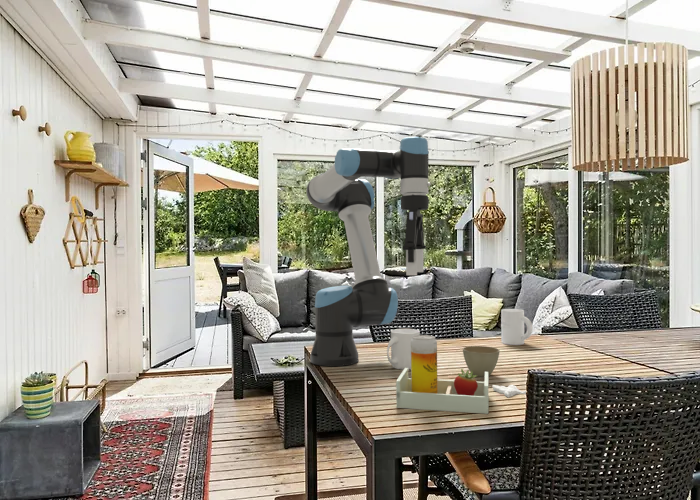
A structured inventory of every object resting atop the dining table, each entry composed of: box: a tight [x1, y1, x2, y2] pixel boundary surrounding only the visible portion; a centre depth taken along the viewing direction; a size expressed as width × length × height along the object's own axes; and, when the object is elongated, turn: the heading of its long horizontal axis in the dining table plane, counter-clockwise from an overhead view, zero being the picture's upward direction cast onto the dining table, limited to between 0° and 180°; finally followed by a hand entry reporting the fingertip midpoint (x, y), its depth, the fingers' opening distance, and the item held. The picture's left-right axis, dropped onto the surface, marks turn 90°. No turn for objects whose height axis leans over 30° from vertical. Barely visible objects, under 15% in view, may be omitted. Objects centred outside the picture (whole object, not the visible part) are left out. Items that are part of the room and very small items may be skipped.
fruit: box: [454, 368, 478, 396], centre depth 122 cm, size 5×5×8 cm
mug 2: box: [500, 308, 534, 346], centre depth 193 cm, size 8×12×12 cm
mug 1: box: [386, 328, 421, 371], centre depth 158 cm, size 9×12×11 cm
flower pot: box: [462, 345, 501, 378], centre depth 149 cm, size 10×10×7 cm
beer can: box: [410, 334, 438, 393], centre depth 124 cm, size 6×6×15 cm
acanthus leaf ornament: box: [492, 384, 527, 398], centre depth 131 cm, size 8×7×2 cm
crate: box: [395, 368, 490, 415], centre depth 123 cm, size 20×13×6 cm, turn 75°
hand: (415, 273), depth 145 cm, fingers open, 13 cm apart
